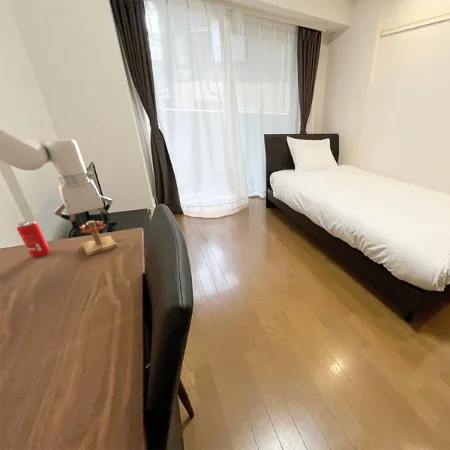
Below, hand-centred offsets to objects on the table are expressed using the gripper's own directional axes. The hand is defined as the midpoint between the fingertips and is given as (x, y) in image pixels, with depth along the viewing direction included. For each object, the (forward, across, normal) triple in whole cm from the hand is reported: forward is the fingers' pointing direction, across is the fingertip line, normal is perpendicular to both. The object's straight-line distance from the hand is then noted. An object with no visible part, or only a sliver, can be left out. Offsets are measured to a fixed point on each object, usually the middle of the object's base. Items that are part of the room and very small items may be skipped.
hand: (92, 226), depth 96 cm
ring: (0, 0, 0) cm, 0 cm away
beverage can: (+9, +16, -8) cm, 20 cm away
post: (+8, 0, 0) cm, 8 cm away
